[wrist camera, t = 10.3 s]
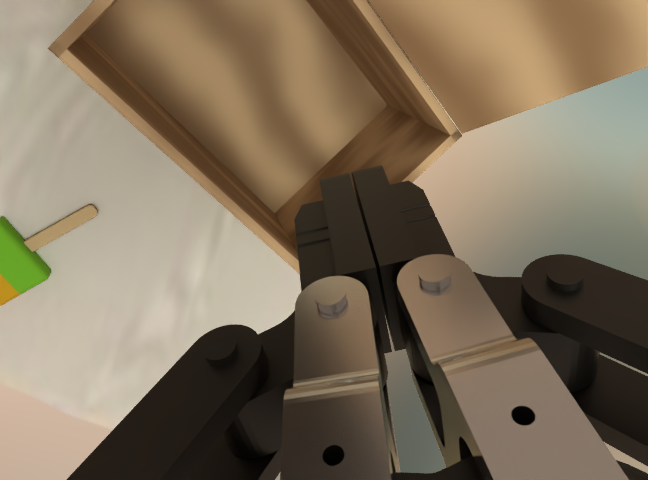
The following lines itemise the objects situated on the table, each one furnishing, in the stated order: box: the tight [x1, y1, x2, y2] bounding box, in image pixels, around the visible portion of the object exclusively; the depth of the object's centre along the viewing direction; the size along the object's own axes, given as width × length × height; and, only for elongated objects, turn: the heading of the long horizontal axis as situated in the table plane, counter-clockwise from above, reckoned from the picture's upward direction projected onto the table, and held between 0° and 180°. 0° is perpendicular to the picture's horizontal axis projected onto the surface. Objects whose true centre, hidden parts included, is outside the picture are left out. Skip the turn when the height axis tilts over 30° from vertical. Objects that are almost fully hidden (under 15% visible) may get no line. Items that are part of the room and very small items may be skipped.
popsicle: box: [0, 205, 98, 306], centre depth 41 cm, size 6×15×2 cm, turn 116°
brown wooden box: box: [48, 0, 462, 274], centre depth 36 cm, size 14×20×11 cm
